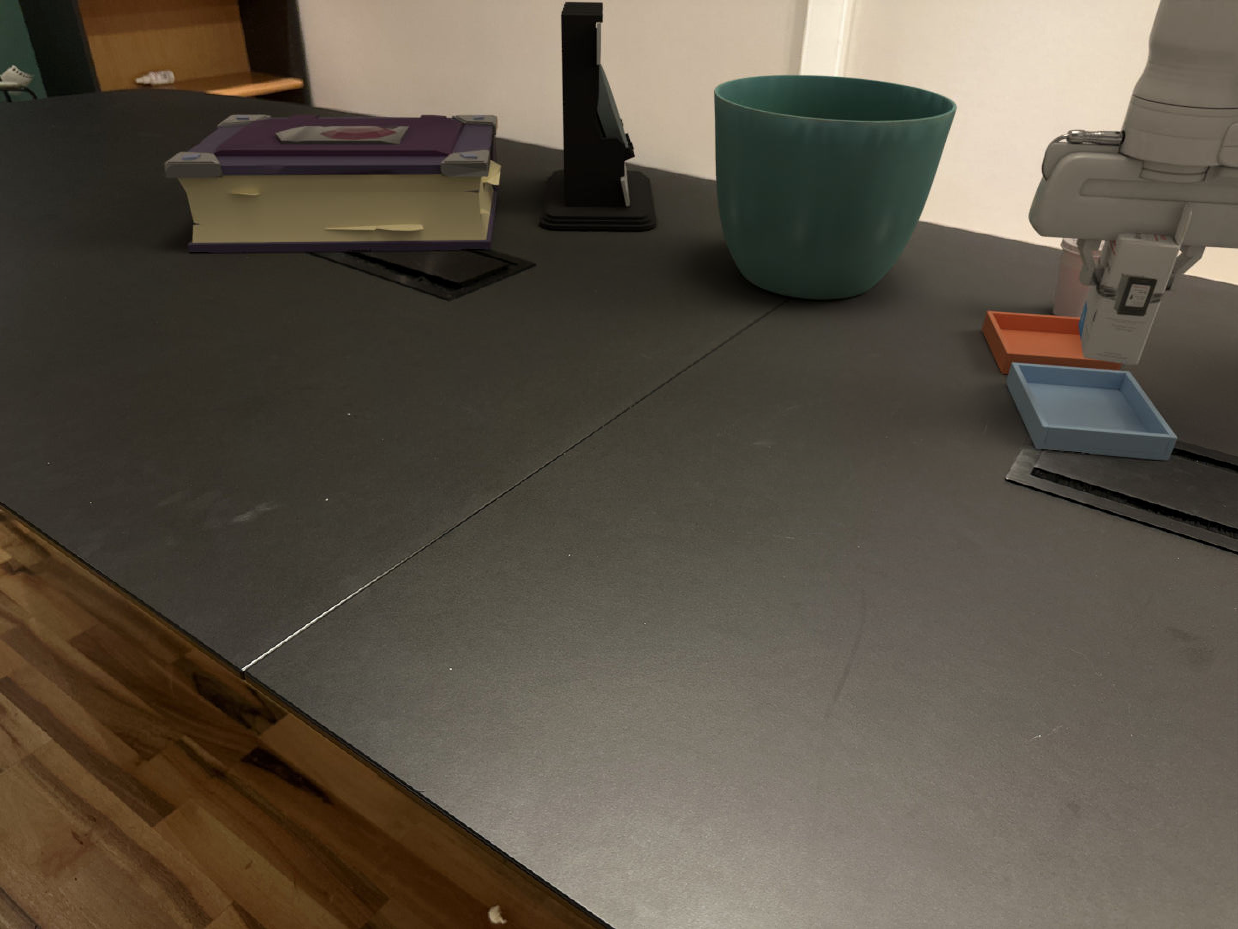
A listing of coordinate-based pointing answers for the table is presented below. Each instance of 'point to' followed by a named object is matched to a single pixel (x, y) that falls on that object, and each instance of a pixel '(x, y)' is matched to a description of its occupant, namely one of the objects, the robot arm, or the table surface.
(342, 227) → the book
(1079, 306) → the smoothie
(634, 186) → the award
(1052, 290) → the table surface
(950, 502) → the table surface
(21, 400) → the table surface
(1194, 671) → the table surface
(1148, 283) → the ink box
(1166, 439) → the blue tray
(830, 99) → the flower pot
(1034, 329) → the terracotta tray
